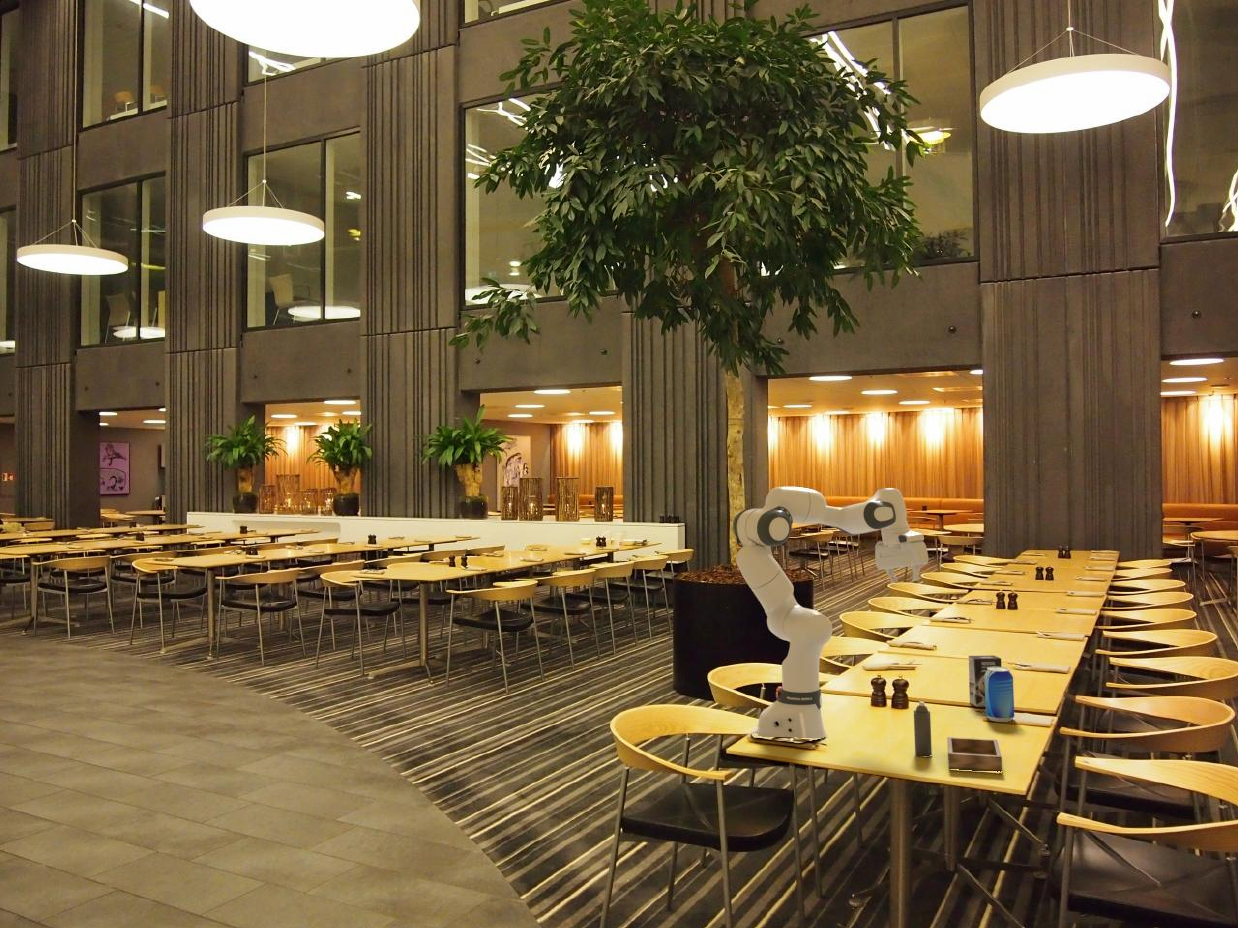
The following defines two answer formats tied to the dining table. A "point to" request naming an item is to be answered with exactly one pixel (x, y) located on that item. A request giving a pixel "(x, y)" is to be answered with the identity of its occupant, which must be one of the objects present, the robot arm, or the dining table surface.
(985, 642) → the dining table surface
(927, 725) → the pepper mill
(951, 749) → the box
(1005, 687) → the beer can
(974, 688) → the coffee box
